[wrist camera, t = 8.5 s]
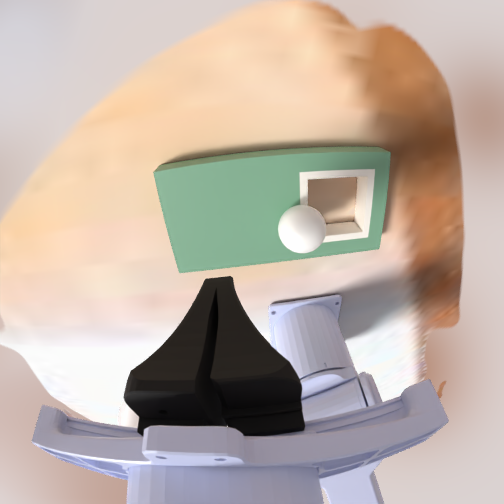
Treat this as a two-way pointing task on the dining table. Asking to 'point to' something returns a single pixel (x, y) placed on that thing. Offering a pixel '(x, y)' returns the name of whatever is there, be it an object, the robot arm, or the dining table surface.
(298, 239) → the ball
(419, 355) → the dining table surface
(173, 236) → the green
